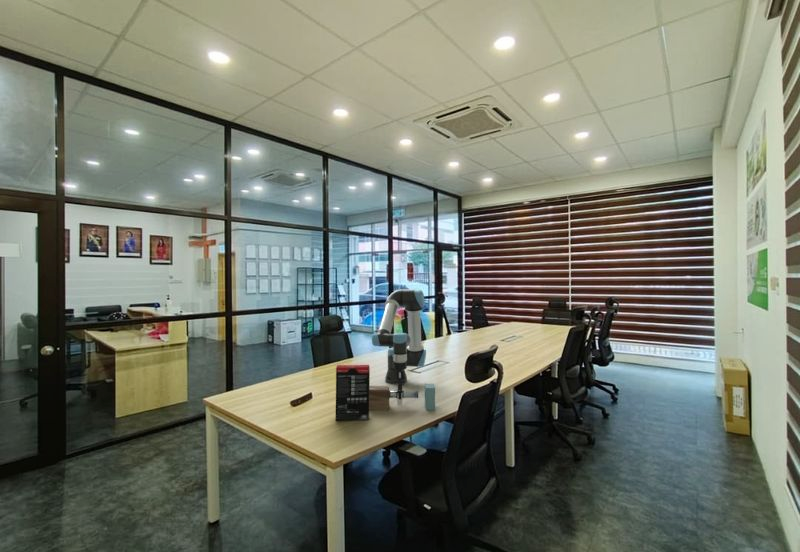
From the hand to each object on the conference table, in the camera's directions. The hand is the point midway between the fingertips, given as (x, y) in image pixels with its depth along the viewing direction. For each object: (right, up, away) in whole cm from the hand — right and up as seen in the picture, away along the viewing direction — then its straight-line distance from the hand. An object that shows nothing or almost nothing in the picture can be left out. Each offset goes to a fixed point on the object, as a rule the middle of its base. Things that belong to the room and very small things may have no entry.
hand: (400, 400), depth 201 cm
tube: (-3, +1, 0) cm, 3 cm away
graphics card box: (-24, -4, -16) cm, 29 cm away
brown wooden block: (-12, -4, 0) cm, 13 cm away
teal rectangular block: (+16, -4, 0) cm, 17 cm away
